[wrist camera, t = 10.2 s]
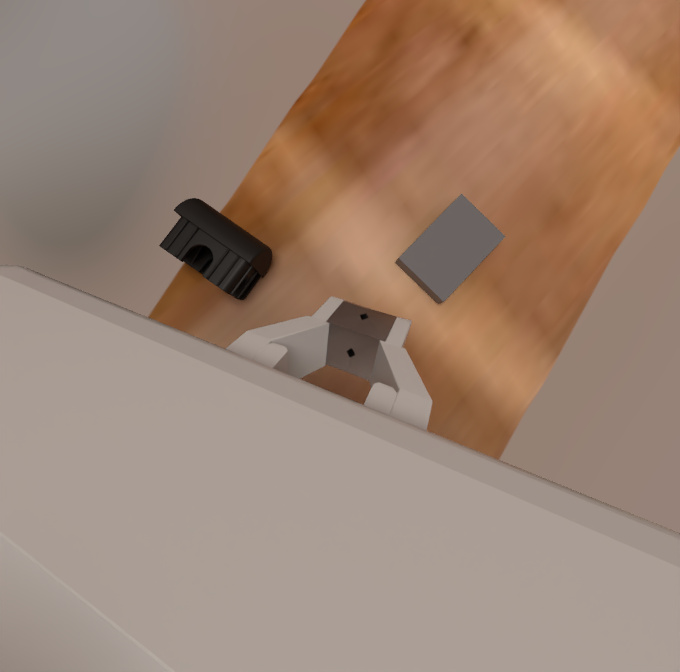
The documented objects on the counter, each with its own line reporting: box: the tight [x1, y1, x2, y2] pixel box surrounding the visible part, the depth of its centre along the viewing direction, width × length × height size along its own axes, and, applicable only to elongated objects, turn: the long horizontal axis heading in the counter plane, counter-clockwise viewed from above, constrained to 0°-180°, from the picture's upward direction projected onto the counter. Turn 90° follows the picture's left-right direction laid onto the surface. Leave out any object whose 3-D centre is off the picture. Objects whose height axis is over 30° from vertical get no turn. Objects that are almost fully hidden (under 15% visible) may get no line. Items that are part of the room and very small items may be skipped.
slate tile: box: [395, 194, 505, 304], centre depth 37 cm, size 2×8×12 cm
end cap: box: [160, 198, 272, 300], centre depth 33 cm, size 10×7×7 cm
